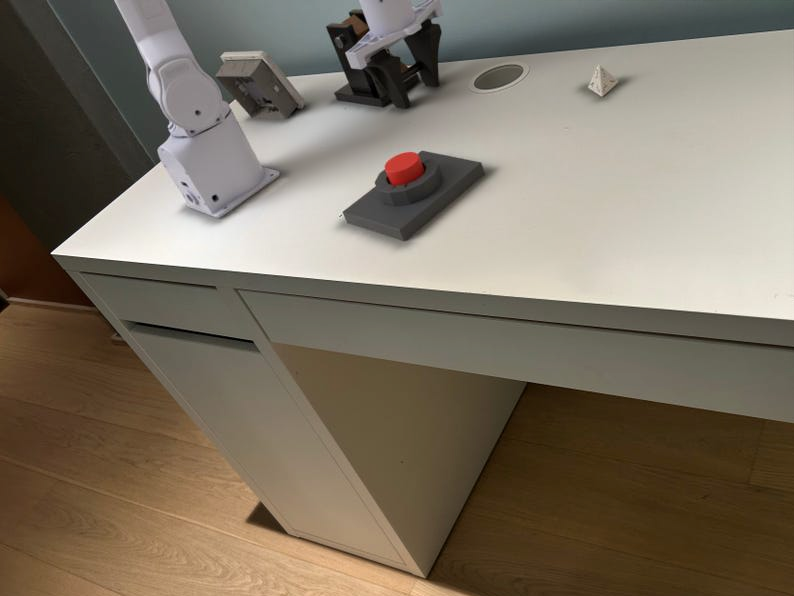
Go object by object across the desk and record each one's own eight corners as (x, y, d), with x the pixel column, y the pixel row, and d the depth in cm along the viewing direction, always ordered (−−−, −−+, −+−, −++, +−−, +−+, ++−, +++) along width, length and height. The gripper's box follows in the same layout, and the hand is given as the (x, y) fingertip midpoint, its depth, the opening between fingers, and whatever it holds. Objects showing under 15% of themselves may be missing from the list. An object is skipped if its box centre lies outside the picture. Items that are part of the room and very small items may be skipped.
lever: (422, 74, 93) (424, 59, 91) (395, 93, 91) (397, 78, 89) (361, 24, 95) (361, 9, 92) (333, 42, 92) (333, 26, 90)
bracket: (420, 81, 96) (394, 6, 89) (383, 108, 93) (354, 31, 86) (373, 76, 102) (346, 5, 96) (337, 100, 99) (306, 29, 93)
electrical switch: (309, 106, 101) (274, 43, 94) (286, 128, 98) (248, 66, 92) (266, 104, 106) (230, 45, 99) (243, 126, 104) (205, 66, 97)
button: (407, 189, 70) (400, 174, 69) (383, 183, 73) (377, 168, 71) (431, 170, 72) (426, 154, 71) (407, 164, 74) (402, 149, 73)
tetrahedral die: (600, 88, 82) (589, 63, 81) (619, 82, 80) (608, 56, 79) (583, 103, 81) (571, 78, 80) (602, 97, 79) (590, 71, 77)
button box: (404, 241, 69) (393, 215, 67) (347, 223, 74) (335, 198, 72) (485, 174, 74) (477, 147, 72) (425, 161, 79) (416, 136, 77)
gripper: (356, 15, 78) (399, 129, 87) (445, -41, 84) (477, 71, 93) (318, 14, 82) (363, 123, 91) (405, -39, 88) (439, 68, 97)
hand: (418, 97), depth 93 cm, fingers closed on lever, 5 cm apart
